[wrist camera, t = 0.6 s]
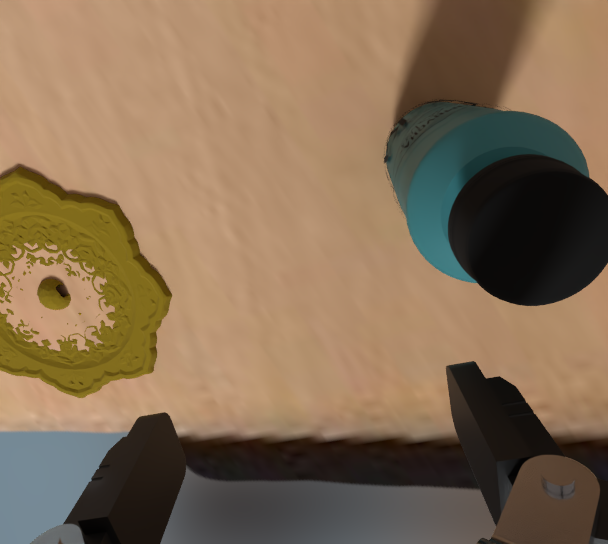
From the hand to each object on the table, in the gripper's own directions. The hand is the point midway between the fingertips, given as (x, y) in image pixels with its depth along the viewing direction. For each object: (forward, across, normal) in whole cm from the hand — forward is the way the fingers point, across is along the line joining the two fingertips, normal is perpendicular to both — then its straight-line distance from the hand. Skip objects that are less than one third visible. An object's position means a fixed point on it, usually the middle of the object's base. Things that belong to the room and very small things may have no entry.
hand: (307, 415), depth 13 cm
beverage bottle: (+21, -9, -4) cm, 23 cm away
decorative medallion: (+24, +23, +2) cm, 33 cm away
